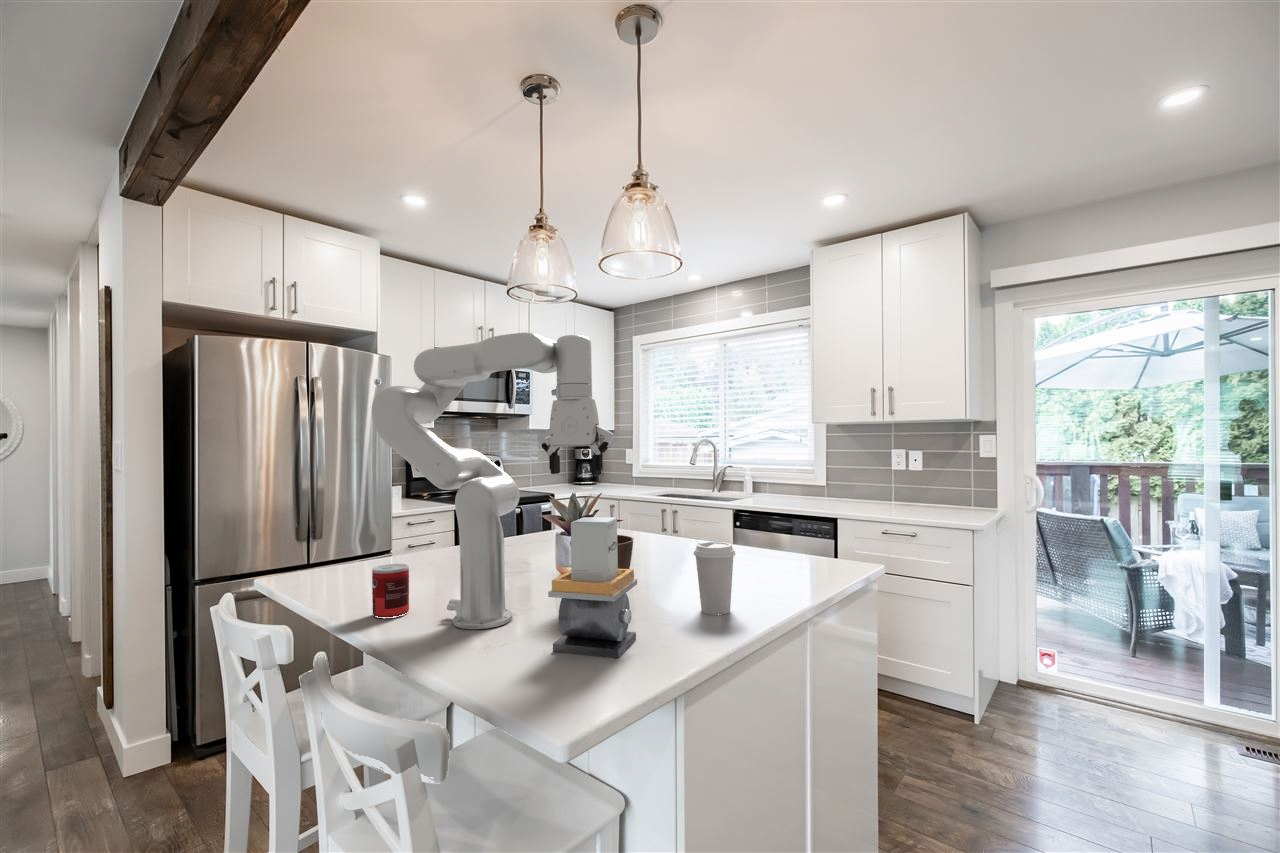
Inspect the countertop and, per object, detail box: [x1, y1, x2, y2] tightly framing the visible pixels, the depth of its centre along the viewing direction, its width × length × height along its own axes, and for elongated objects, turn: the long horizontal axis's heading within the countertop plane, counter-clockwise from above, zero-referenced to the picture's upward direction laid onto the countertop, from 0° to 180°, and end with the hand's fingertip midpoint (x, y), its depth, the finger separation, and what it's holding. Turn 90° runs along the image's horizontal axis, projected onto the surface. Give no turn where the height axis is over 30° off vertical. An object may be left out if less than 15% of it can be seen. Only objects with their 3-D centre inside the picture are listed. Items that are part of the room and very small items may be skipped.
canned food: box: [371, 563, 410, 617], centre depth 134 cm, size 8×8×11 cm
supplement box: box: [570, 516, 618, 582], centre depth 111 cm, size 7×7×13 cm
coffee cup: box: [693, 541, 736, 616], centre depth 132 cm, size 10×10×15 cm
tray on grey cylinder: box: [547, 568, 638, 659], centre depth 111 cm, size 14×13×14 cm
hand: (575, 473), depth 124 cm, fingers open, 9 cm apart
